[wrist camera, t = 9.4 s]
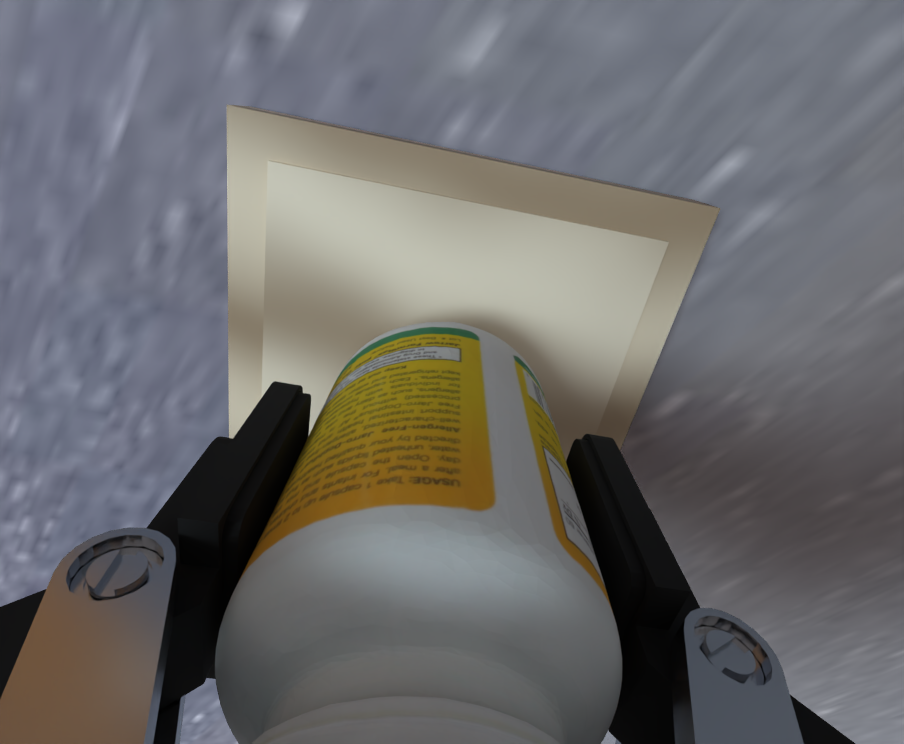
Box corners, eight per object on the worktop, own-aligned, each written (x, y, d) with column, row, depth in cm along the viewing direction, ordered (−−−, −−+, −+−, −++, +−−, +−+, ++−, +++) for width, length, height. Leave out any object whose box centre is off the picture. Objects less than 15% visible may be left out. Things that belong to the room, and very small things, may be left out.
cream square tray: (251, 106, 13) (224, 104, 11) (694, 199, 14) (723, 209, 12) (246, 476, 18) (227, 508, 17) (567, 526, 19) (577, 559, 18)
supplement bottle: (586, 381, 12) (890, 975, 4) (471, 523, 15) (496, 1116, 6) (392, 270, 11) (181, 774, 3) (297, 442, 13) (2, 1043, 5)
